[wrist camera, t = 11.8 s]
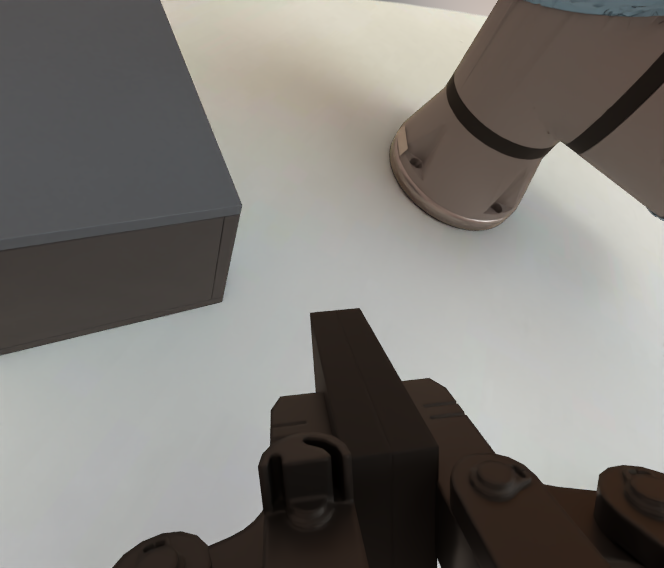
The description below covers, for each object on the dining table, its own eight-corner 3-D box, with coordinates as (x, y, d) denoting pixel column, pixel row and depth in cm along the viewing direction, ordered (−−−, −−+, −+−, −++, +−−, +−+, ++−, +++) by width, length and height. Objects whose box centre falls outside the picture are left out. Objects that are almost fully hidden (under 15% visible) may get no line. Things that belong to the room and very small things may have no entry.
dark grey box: (-45, 150, 31) (-134, -1, 22) (165, 137, 38) (162, 16, 29) (-20, 360, 26) (-127, 271, 17) (222, 302, 32) (240, 215, 23)
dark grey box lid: (-134, -11, 23) (-144, -27, 22) (159, 8, 29) (159, -4, 28) (-128, 270, 17) (-140, 259, 16) (240, 214, 23) (242, 205, 22)
